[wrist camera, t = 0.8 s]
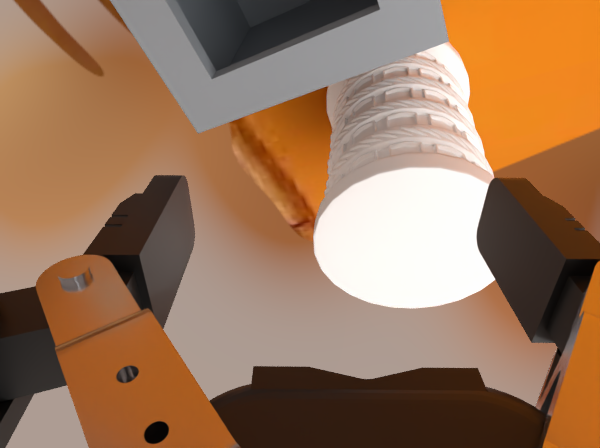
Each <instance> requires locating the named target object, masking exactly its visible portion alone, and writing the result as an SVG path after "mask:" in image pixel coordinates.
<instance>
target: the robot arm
mask: <svg viewBox="0 0 600 448" xmlns="http://www.w3.org/2000/svg"><path fill="white" fill-rule="evenodd" d="M476 237H477V246H478V250H479V252H480V254H481V255H482V257H483V259H484V261H485V262H486V264H487V266H488V268H489V269H490V271H491V273H492V275H493V276H494V278H495V280H496V281H497V283H498V285H499V287H500V288H501V290H502V292H503V294H504V295H505V297H506V299H507V301H508V302H509V304H510V306H511V308H512V309H513V311H514V312H515V314H516V316H517V318H518V320H519V321H520V323H521V325H522V327H523V328H524V330H525V332H526V334H527V335H528V337H529V339H530V341H531V342H532V343H555V344H556V346H557V347H558V348H557V350H556V352H555V354H554V356H553V358H552V361H551V364H550V367H549V370H548V372H547V375H546V378H545V381H544V383H543V386H542V389H541V392H540V395H539V397H538V400H537V403H536V406H535V407H534V406H532V405H530V404H529V403H527V402H525V401H523V400H521V399H519V398H517V397H514V396H512V395H509V394H507V393H504V392H501V391H498V390H495V389H492V388H488V387H485V385H484V382H483V380H482V378H481V375H480V373H479V370H478V368H419V369H415V370H410V371H406V372H402V373H397V374H393V375H388V376H384V377H380V378H375V379H360V378H355V377H351V376H347V375H342V374H338V373H334V372H329V371H325V370H320V369H315V368H311V367H266V366H265V367H263V366H262V367H261V366H255V367H254V368H253V375H252V384H249V385H245V386H241V387H238V388H235V389H232V390H230V391H227V392H225V393H223V394H221V395H219V396H217V397H215V398H213V399H212V400H210V401H209V400H208V398H207V397H206V395H205V394H204V392H203V391H202V389H201V388H200V386H199V385H198V383H197V381H196V380H195V378H194V377H193V375H192V374H191V372H190V371H189V369H188V368H187V366H186V364H185V363H184V361H183V360H182V358H181V357H180V355H179V354H178V352H177V350H176V349H175V348H174V346H173V345H172V343H171V341H170V340H169V338H168V337H167V335H166V333H165V332H164V330H163V328H164V325H165V323H166V320H167V317H168V314H169V312H170V309H171V307H172V304H173V301H174V298H175V296H176V293H177V290H178V288H179V285H180V282H181V280H182V277H183V274H184V271H185V269H186V266H187V263H188V261H189V258H190V255H191V252H192V250H193V246H194V238H195V229H194V221H193V215H192V208H191V201H190V195H189V189H188V183H187V179H186V177H185V176H175V175H174V176H173V175H172V176H171V175H165V176H164V175H158V176H157V175H156V176H154V177H153V179H152V181H151V182H150V183H149V185H148V186H147V188H146V189H145V191H144V192H143V194H134V195H132V196H131V197H129V198H127V199H126V200H124V201H123V202H121V203H120V204H119V205H118V207H117V208H116V210H115V211H114V212H113V214H112V217H110V218H109V219H108V221H107V222H106V224H105V227H103V228H102V229H101V230H100V232H99V233H98V235H97V236H96V237H95V239H94V240H93V242H92V243H91V244H90V246H89V247H88V249H87V250H86V251H85V253H84V254H83V255H80V256H75V257H71V258H67V259H65V260H62V261H60V262H58V263H56V264H54V265H52V266H51V267H49V268H48V269H47V270H45V271H44V272H43V273H42V274H41V275H40V277H39V278H38V280H37V282H36V286H35V287H31V288H26V289H21V290H15V291H11V292H5V293H0V448H5V447H6V445H7V443H8V442H9V440H10V438H11V436H12V434H13V432H14V430H15V428H16V427H17V425H18V423H19V421H20V419H21V417H22V415H23V414H24V412H25V410H26V408H27V406H28V404H29V402H30V400H31V399H32V397H33V395H34V394H35V393H39V392H42V391H46V390H50V389H54V388H58V387H62V386H66V385H67V386H68V389H69V392H70V394H71V397H72V400H73V403H74V406H75V409H76V412H77V415H78V418H79V420H80V423H81V426H82V429H83V432H84V435H85V438H86V441H87V443H88V446H89V448H600V243H599V242H598V241H597V240H596V239H595V238H594V237H593V236H592V235H591V234H590V233H589V232H588V231H585V228H584V227H583V226H582V225H581V224H580V223H579V222H578V221H575V218H574V217H573V216H572V215H571V214H570V213H569V212H568V211H567V210H566V209H565V208H564V207H563V206H561V205H559V204H558V203H555V202H554V201H552V200H550V199H549V198H547V197H545V196H543V195H542V194H541V193H539V191H538V190H537V189H536V188H535V187H534V186H533V185H532V184H531V183H530V182H529V181H528V180H527V179H525V178H494V179H492V181H491V182H490V184H489V186H488V190H487V194H486V197H485V201H484V205H483V209H482V212H481V216H480V220H479V224H478V228H477V236H476Z"/></svg>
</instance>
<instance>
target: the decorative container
mask: <svg viewBox="0 0 600 448" xmlns="http://www.w3.org/2000/svg"><path fill="white" fill-rule="evenodd" d="M469 96H470V89H469V78H468V74H467V72H466V69H465V67H464V65H463V62H462V60H461V57H460V55H459V53H458V52H457V51H456V50H455V49H454V47H453V46H452V45H451V44H450V43H449V42H446V43H444V44H441V45H438V46H435V47H433V48H430V49H427V50H425V51H422V52H419V53H416V54H414V55H411V56H408V57H405V58H403V59H400V60H397V61H395V62H392V63H389V64H386V65H384V66H381V67H378V68H375V69H373V70H370V71H367V72H365V73H362V74H359V75H356V76H354V77H351V78H348V79H345V80H343V81H340V82H337V83H335V84H332V85H329V86H328V88H327V95H326V97H327V114H328V117H329V120H330V123H331V126H332V134H331V137H330V139H331V143H330V148H331V151H330V154H329V156H330V159H329V160H328V166H329V167H328V170H327V173H328V175H329V178H328V181H327V182H326V186H327V189H326V190H325V192H324V193H325V198H324V199H323V200H322V202H321V204H320V207H319V210H318V214H317V217H316V220H315V227H314V235H313V239H314V254H315V256H316V258H317V261H318V263H319V265H320V268H321V270H322V271H323V272H324V273H325V274H326V275H327V277H328V278H329V279H330V280H331V281H332V282H333V283H334V284H335V285H336V286H338V287H339V288H341V289H343V290H344V291H345V292H347V293H348V294H350V295H352V296H354V297H357V298H359V299H362V300H364V301H366V302H369V303H373V304H378V305H382V306H387V307H396V308H423V307H431V306H439V305H442V304H446V303H450V302H454V301H458V300H461V299H463V298H465V297H467V296H469V295H471V294H473V293H476V292H478V291H480V290H481V289H483V288H484V287H485V286H487V285H488V284H490V283H491V282H492V281H494V280H495V278H494V276H493V275H492V273H491V271H490V269H489V268H488V266H487V264H486V262H485V261H484V259H483V257H482V255H481V254H480V252H479V250H478V246H477V237H476V236H477V228H478V224H479V220H480V216H481V212H482V209H483V205H484V201H485V197H486V194H487V190H488V186H489V184H490V182H491V181H492V179H494V176H493V171H492V169H491V167H490V165H489V164H488V161H487V160H486V158H485V156H484V149H483V145H482V141H481V139H480V137H479V135H478V133H477V131H476V129H475V124H474V121H473V117H472V114H471V112H470V110H469V108H468V106H467V105H468V101H469Z"/></svg>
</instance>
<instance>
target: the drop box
mask: <svg viewBox="0 0 600 448" xmlns="http://www.w3.org/2000/svg"><path fill="white" fill-rule="evenodd" d="M110 1H111V3H112V4H113V6H114V7H115V9H116V10H117V12H118V13H119V15H120V16H121V18H122V19H123V21H124V22H125V24H126V25H127V27H128V28H129V30H130V31H131V33H132V34H133V36H134V37H135V39H136V40H137V42H138V43H139V45H140V46H141V48H142V49H143V51H144V52H145V54H146V55H147V57H148V58H149V60H150V62H151V63H152V64H153V66H154V68H155V69H156V71H157V72H158V74H159V75H160V77H161V78H162V80H163V81H164V83H165V84H166V86H167V87H168V89H169V90H170V92H171V93H172V95H173V96H174V98H175V99H176V101H177V102H178V104H179V105H180V107H181V108H182V110H183V111H184V113H185V114H186V116H187V117H188V119H189V121H190V122H191V123H192V125H193V127H194V128H195V129H196V131H197V133H201V132H204V131H206V130H209V129H212V128H214V127H217V126H220V125H222V124H225V123H228V122H231V121H234V120H236V119H239V118H242V117H244V116H247V115H250V114H253V113H255V112H258V111H261V110H264V109H266V108H269V107H272V106H275V105H277V104H280V103H283V102H285V101H288V100H291V99H294V98H296V97H299V96H302V95H305V94H307V93H310V92H313V91H315V90H318V89H321V88H324V87H326V86H329V85H332V84H335V83H337V82H340V81H343V80H345V79H348V78H351V77H354V76H356V75H359V74H362V73H365V72H367V71H370V70H373V69H375V68H378V67H381V66H384V65H386V64H389V63H392V62H395V61H397V60H400V59H403V58H405V57H408V56H411V55H414V54H416V53H419V52H422V51H425V50H427V49H430V48H433V47H435V46H438V45H441V44H444V43H446V42H449V39H448V35H447V30H446V25H445V20H444V16H443V11H442V6H441V2H440V0H110Z"/></svg>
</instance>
